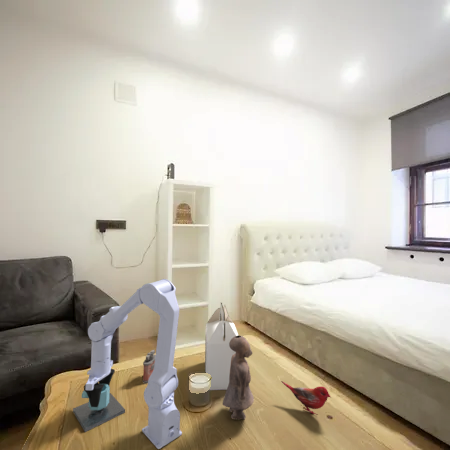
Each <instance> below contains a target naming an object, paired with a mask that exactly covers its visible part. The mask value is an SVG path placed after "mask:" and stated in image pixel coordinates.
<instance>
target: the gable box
mask: <svg viewBox="0 0 450 450" xmlns="http://www.w3.org/2000/svg"><path fill="white" fill-rule="evenodd" d="M238 335H239V333H238V330H237V327H236V325H235V323H234V321H233V320H232V318H231V317H230V315H229V313H228V310H227V307H226V304H224V305H223V302H220V307H218V308H217V309H215V311H214V312H213V313H212V315H211V316H210V318H209V319H208V321H207V323H205V346H204V353H205V354H204V371H205V372H206V373H208V374H210V375H211V377H212V379H211V387H210V390H209V391H223V390H224V391H226V390H227V387H228V384H229V375H230V365H231V358H232V355H233V354H235V353H236V352H235V351H233V350H232V349H231V348H230V346H229V343H230V340H231V339H232V338H233V337H235V336H238Z"/></svg>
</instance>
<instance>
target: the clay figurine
mask: <svg viewBox="0 0 450 450" xmlns="http://www.w3.org/2000/svg"><path fill="white" fill-rule="evenodd" d="M229 346H230V348H231V349H232V350H233V351H235V352H236V353H235V354H233V355H232V358H231V365H230V375H229V384H228V387H227V390H225V394H224V397H223V400H222V405H223V406H224V407H225V408H229V409H228V411H229V412H230V413H231V416H230V417H231V419H232V420H234V421H235V420H245V419H246V418H247V417H246V414H245V412H244V411H245V410H247V409H249V408H250V407H251V406H252V405H253V403H254V402H255V399H254V398H255V397H254V394H253V392H252V390H251V388H250V385H249V384H250V383H251V380H252V377H251V376H252V375H251V372H250V366H249V363H248V361H247V359H248V358H250V356H253V351H252V349H251V344H250V343H249V341H248V340H247V339H246V338H245V337H244V336H243V335H239V334H238V336H235V337H233V338H232V339H231V340H230V343H229ZM246 358H247V359H246Z"/></svg>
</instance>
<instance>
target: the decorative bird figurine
mask: <svg viewBox="0 0 450 450" xmlns="http://www.w3.org/2000/svg"><path fill="white" fill-rule="evenodd" d="M280 382H281V383H282V385H284V386H285V387H286V388H287V389H289V390H290V392H291V393H292V394H293V396H294V397H295V398H296V399H297V400H298V401H299V402H300V403H301V404H302V405H303V406H304V407H303V408H302V409H303V410H305V411H307V412H309V414H312V415H316V416H319V414H318V413H315V411H312V410H318V409H321V408H322V407H323V406H324V405H325V403H326V402H327V401H328V398H332V397H331V395H330V393H329V391H328V389H327V388H326V387H325V386H316V387H314V388H308V387H293V386H292V385H289V384H288V383H286V382H284V381H282V380H281V381H280ZM311 409H312V410H311Z"/></svg>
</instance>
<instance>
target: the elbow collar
mask: <svg viewBox="0 0 450 450" xmlns="http://www.w3.org/2000/svg"><path fill="white" fill-rule="evenodd" d="M110 390H111V387H110V385H108V384H104V386H103V388H102V391H101V395H100V401H99V405H98V407H91V405H90V401H89V400H88V402H89V408H90V409H91V410H100V409H102V408H105V407H106V406H107V405H108V403H109V396H110V393H111V391H110ZM81 399H89V397H88V395H87V393H86V392H85V390H84V389H83V391H82V393H81Z"/></svg>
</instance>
